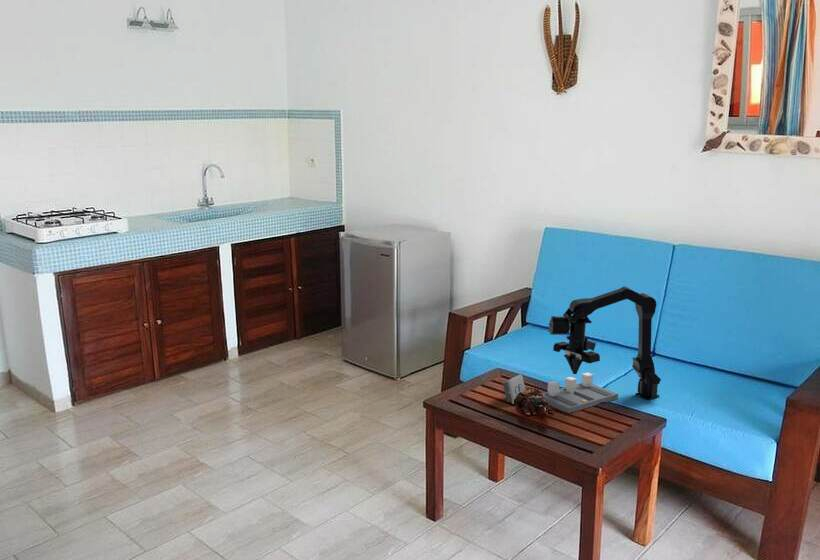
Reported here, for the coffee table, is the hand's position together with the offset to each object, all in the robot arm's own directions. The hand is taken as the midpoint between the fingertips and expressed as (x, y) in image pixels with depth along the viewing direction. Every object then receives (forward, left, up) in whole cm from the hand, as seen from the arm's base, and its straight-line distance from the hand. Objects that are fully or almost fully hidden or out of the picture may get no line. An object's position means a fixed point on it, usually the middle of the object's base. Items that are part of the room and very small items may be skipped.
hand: (574, 373), depth 269 cm
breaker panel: (-2, 0, -10) cm, 10 cm away
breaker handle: (+2, 0, -10) cm, 10 cm away
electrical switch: (+10, +21, -10) cm, 25 cm away
